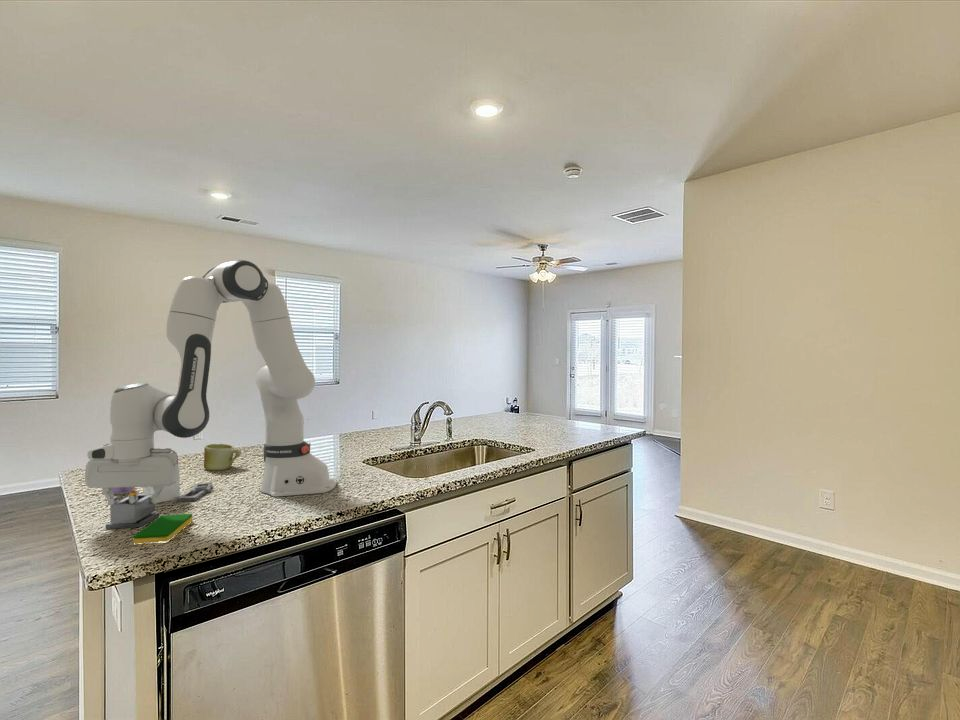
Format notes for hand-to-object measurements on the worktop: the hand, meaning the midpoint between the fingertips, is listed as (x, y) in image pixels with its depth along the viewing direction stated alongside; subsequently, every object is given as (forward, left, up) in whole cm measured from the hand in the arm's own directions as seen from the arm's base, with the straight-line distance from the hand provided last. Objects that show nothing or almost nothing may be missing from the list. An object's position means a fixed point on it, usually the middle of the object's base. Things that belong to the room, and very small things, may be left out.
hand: (133, 503), depth 121 cm
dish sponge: (-11, +8, -5) cm, 15 cm away
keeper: (0, 0, -5) cm, 5 cm away
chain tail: (-5, -24, -5) cm, 25 cm away
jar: (+3, -19, -5) cm, 20 cm away
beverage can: (+18, -27, -5) cm, 33 cm away
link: (0, 0, -3) cm, 3 cm away
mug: (0, -54, -5) cm, 54 cm away
